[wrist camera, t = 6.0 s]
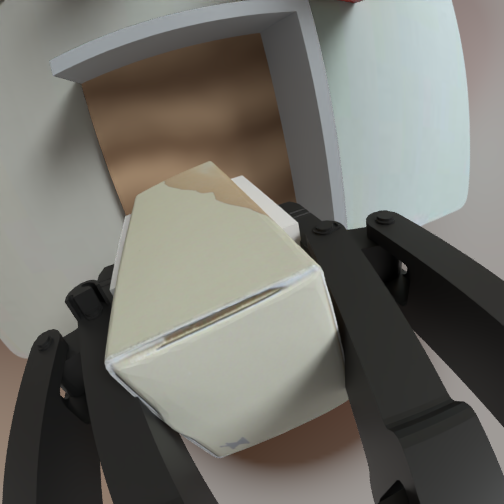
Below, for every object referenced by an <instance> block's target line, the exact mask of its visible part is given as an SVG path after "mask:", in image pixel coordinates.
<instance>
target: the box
mask: <svg viewBox="0 0 504 504" xmlns="http://www.w3.org/2000/svg"><path fill="white" fill-rule="evenodd" d="M105 366H106V369H107V371H108V372H109V373H110V375H111V376H112V377H113V378H114V379H115V380H117V381H118V382H119V383H120V384H121V385H122V386H123V387H124V388H125V389H126V390H127V391H128V392H130V393H131V394H132V395H133V396H134V397H139V398H140V400H141V401H142V402H143V403H144V404H145V405H146V406H147V407H148V408H149V409H150V410H151V411H152V412H153V413H154V414H155V415H156V416H157V417H159V418H160V419H161V420H162V421H163V422H165V423H166V424H167V425H168V426H170V427H171V428H172V429H174V430H175V431H176V432H178V433H180V434H181V435H183V436H184V437H185V438H187V439H188V440H190V441H191V442H193V443H194V444H195V445H197V446H199V447H200V448H202V449H203V450H205V451H206V452H208V453H209V454H211V455H212V456H214V457H216V458H222V457H225V456H227V455H230V454H232V453H235V452H238V451H240V450H243V449H246V448H248V447H251V446H253V445H256V444H258V443H261V442H263V441H265V440H268V439H270V438H273V437H275V436H277V435H280V434H282V433H284V432H287V431H288V430H291V429H293V428H295V427H297V426H300V425H302V424H304V423H306V422H308V421H310V420H312V419H314V418H317V417H319V416H320V415H322V414H324V413H326V412H328V411H330V410H332V409H334V408H336V407H337V406H339V405H341V404H342V403H344V402H346V401H347V400H348V399H349V398H348V395H347V392H346V389H345V357H344V351H343V347H342V343H341V338H340V333H339V330H338V326H337V321H336V317H335V313H334V309H333V305H332V302H331V298H330V295H329V291H328V288H327V285H326V281H325V277H324V272H323V270H322V268H321V267H320V266H319V265H318V264H317V263H316V262H315V261H314V260H313V259H312V258H311V257H310V256H309V255H308V254H307V253H306V252H305V251H304V250H303V249H302V248H301V247H300V246H299V245H298V244H297V243H296V242H295V241H294V240H293V239H292V238H291V237H290V236H289V235H288V234H287V233H286V232H285V231H284V230H283V229H282V228H281V227H280V226H279V225H278V224H277V223H276V222H275V221H274V220H272V219H271V218H270V217H269V215H267V214H266V213H265V212H264V211H263V210H262V209H261V208H260V207H259V206H258V205H257V204H256V203H255V202H254V201H253V200H252V199H251V198H250V197H249V196H248V195H247V194H246V193H245V192H244V191H243V190H242V189H240V188H239V187H238V186H237V185H236V184H235V183H234V182H233V181H232V180H231V179H230V178H229V177H228V176H227V175H226V174H225V173H224V172H223V171H222V170H220V169H219V168H218V167H217V166H216V165H215V164H214V163H213V162H211V161H208V162H206V163H203V164H201V165H198V166H196V167H193V168H191V169H189V170H186V171H184V172H182V173H180V174H178V175H175V176H173V177H171V178H169V179H167V180H165V181H163V182H161V183H159V184H157V185H155V186H153V187H151V188H149V189H147V190H146V191H144V192H142V193H140V194H138V195H137V196H136V198H135V202H134V206H133V210H132V213H131V218H130V222H129V226H128V230H127V234H126V238H125V242H124V247H123V251H122V256H121V260H120V265H119V270H118V275H117V280H116V286H115V292H114V297H113V303H112V309H111V315H110V322H109V329H108V336H107V344H106V352H105Z"/></svg>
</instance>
